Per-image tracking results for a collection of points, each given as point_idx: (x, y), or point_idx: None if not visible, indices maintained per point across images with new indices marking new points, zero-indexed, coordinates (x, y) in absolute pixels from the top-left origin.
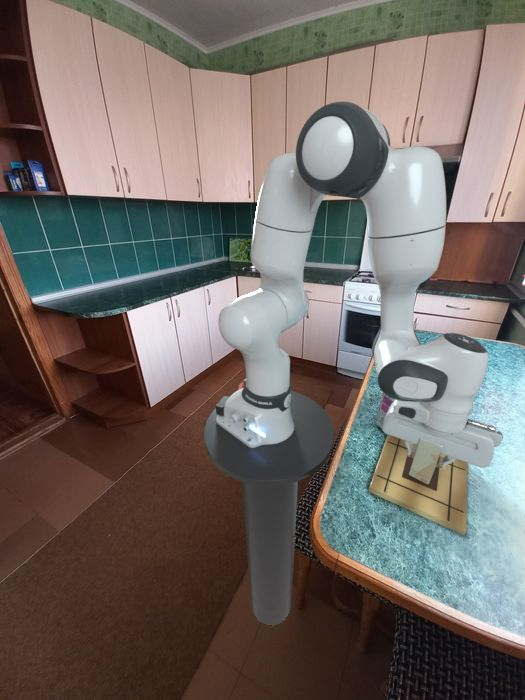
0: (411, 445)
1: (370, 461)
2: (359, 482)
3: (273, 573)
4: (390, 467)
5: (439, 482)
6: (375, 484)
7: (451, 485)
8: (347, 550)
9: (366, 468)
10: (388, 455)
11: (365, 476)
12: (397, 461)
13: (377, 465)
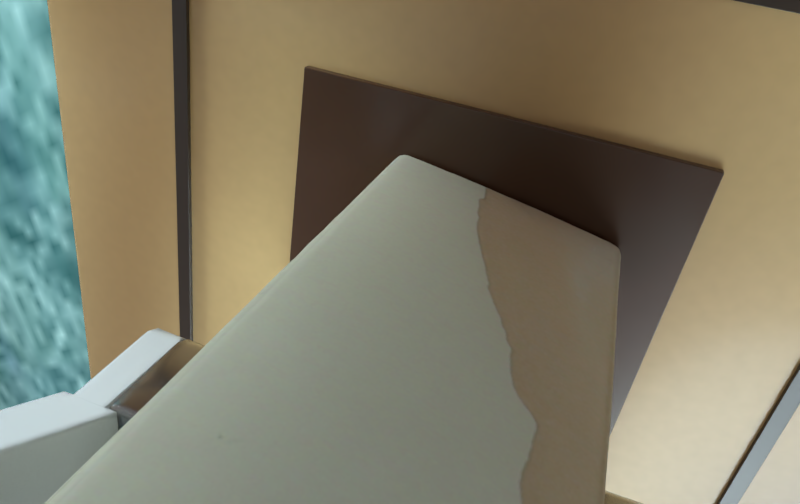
0: (55, 480)
1: (56, 173)
2: (67, 384)
3: None
4: (179, 286)
5: (651, 383)
6: None
7: (792, 408)
8: None
9: (58, 258)
10: (126, 124)
11: (79, 332)
12: (222, 190)
13: (81, 285)
